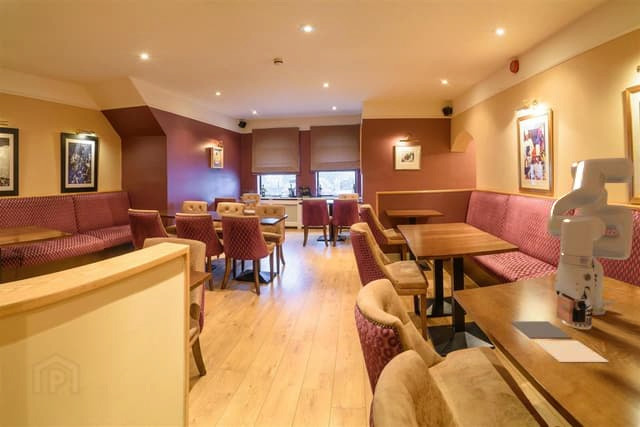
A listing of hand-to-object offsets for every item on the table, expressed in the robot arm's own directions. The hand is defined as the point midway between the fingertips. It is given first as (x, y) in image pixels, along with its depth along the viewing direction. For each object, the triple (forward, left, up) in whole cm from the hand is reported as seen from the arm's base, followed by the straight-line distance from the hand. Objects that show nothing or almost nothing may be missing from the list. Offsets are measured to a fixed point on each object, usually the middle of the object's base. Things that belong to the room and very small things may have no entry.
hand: (571, 317), depth 97 cm
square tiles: (0, -7, -11) cm, 13 cm away
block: (0, 0, -1) cm, 1 cm away
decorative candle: (-16, -18, -11) cm, 27 cm away
